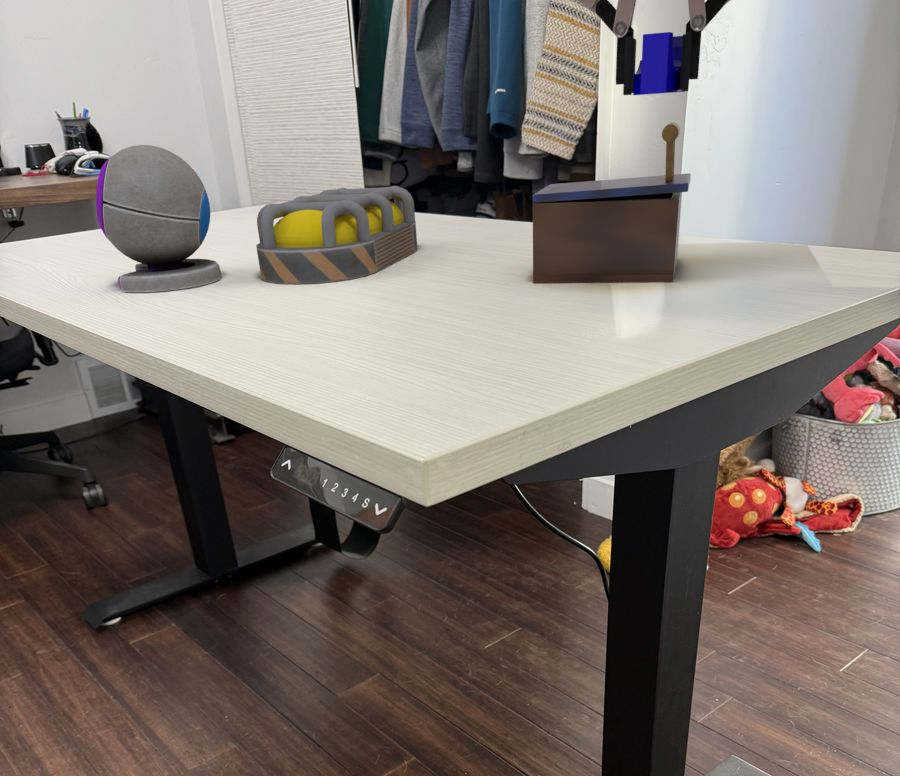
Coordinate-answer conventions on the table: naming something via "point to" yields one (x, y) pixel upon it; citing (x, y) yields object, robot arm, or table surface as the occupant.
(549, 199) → the lid
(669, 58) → the cable holder
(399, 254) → the cage light
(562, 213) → the chest
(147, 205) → the grey ball on stand
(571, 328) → the table surface
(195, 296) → the table surface
